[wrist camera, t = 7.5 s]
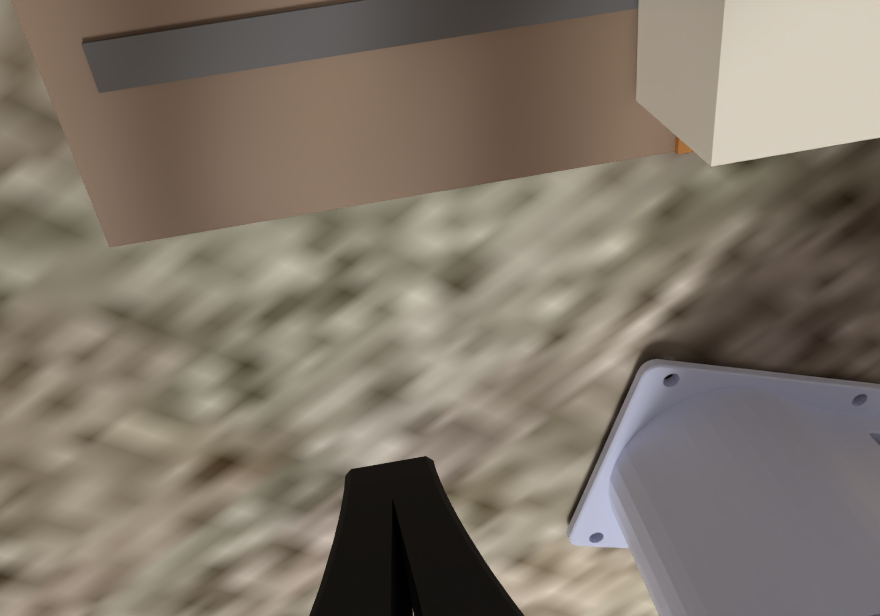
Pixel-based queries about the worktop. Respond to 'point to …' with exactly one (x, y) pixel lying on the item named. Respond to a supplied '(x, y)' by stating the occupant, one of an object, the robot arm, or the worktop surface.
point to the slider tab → (760, 74)
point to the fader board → (329, 101)
